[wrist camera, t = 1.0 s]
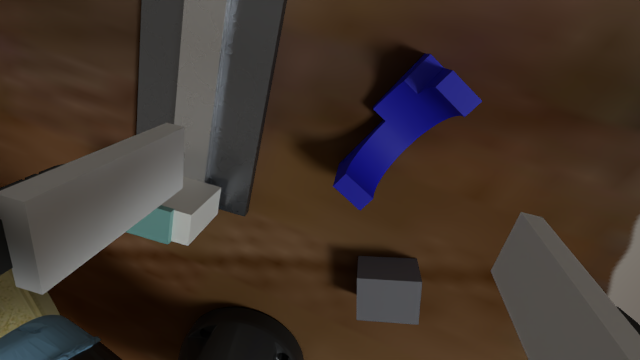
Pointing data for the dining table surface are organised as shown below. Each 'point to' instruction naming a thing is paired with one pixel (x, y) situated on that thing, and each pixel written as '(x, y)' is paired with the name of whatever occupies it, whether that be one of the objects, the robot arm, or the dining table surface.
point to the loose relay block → (388, 289)
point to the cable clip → (403, 124)
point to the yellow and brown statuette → (21, 304)
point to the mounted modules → (181, 214)
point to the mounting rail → (211, 84)
